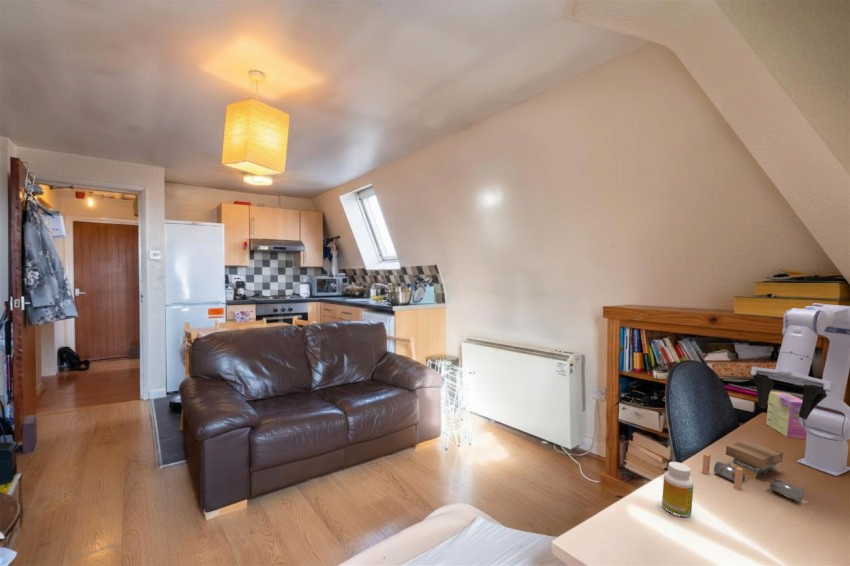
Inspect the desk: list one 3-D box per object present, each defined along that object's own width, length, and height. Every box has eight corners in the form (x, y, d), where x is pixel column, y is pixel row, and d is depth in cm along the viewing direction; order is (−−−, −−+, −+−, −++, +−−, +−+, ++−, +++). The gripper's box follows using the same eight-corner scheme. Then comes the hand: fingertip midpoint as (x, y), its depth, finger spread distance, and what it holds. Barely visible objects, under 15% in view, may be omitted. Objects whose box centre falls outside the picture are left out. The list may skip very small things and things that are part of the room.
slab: (746, 448, 110) (746, 439, 110) (782, 461, 102) (782, 452, 102) (725, 454, 105) (726, 445, 105) (761, 469, 98) (762, 459, 98)
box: (807, 439, 125) (811, 403, 124) (786, 437, 126) (789, 401, 125) (784, 426, 135) (787, 392, 134) (765, 424, 136) (768, 391, 135)
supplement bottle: (691, 521, 82) (695, 475, 81) (661, 511, 84) (664, 467, 84) (690, 508, 86) (694, 464, 86) (662, 499, 89) (665, 457, 89)
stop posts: (704, 472, 102) (706, 453, 102) (741, 489, 94) (743, 469, 94) (702, 473, 101) (703, 454, 101) (738, 490, 94) (740, 470, 94)
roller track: (752, 460, 109) (753, 449, 109) (830, 492, 95) (832, 479, 95) (712, 474, 101) (713, 462, 101) (791, 510, 87) (792, 496, 86)
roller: (769, 492, 93) (770, 479, 93) (775, 489, 95) (777, 477, 95) (796, 504, 89) (797, 491, 89) (802, 501, 90) (804, 488, 90)
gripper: (751, 345, 98) (736, 398, 96) (830, 358, 85) (815, 419, 83) (764, 354, 101) (750, 406, 99) (842, 368, 88) (829, 427, 86)
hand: (781, 412), depth 91 cm, fingers open, 7 cm apart
